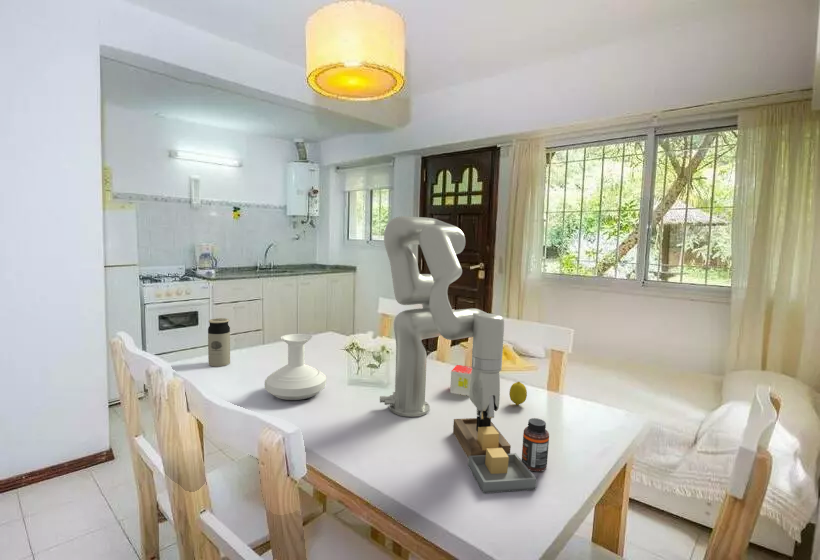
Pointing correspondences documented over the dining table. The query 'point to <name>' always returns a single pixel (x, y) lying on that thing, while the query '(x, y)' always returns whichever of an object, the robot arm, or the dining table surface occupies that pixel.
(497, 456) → the yellow wooden cube
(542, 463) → the supplement bottle
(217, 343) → the travel mug
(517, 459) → the tray
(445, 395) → the dining table surface
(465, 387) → the red patterned box
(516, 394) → the lemon
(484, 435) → the yellow cube
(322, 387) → the white vase
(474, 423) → the slot block
